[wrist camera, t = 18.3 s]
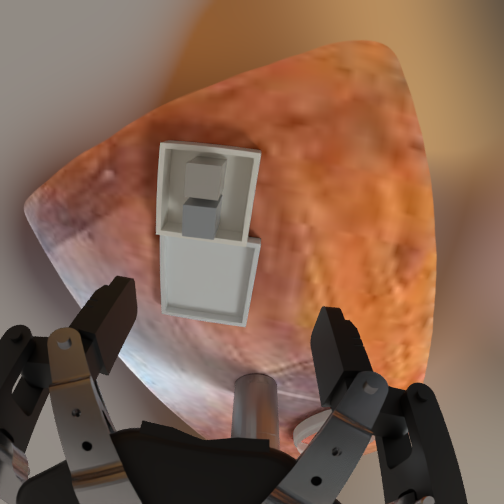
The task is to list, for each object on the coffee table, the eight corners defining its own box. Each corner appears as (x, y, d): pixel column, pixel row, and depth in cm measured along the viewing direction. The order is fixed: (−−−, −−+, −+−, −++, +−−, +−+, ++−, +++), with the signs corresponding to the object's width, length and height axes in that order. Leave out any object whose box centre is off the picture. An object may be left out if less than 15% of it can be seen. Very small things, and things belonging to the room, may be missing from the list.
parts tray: (246, 319, 47) (245, 327, 46) (164, 306, 47) (161, 313, 45) (260, 238, 41) (260, 244, 39) (164, 224, 40) (160, 230, 38)
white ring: (382, 392, 60) (387, 408, 55) (380, 429, 71) (383, 442, 66) (282, 418, 64) (283, 435, 59) (302, 449, 75) (304, 463, 70)
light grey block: (227, 159, 35) (221, 166, 30) (223, 188, 37) (217, 200, 31) (197, 155, 35) (186, 162, 29) (194, 184, 37) (183, 196, 31)
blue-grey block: (222, 194, 37) (216, 208, 32) (220, 222, 39) (213, 239, 34) (193, 191, 37) (182, 204, 32) (192, 219, 39) (181, 235, 33)
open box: (247, 235, 40) (246, 247, 37) (164, 224, 40) (155, 234, 36) (260, 150, 35) (261, 153, 32) (169, 140, 34) (160, 142, 31)
